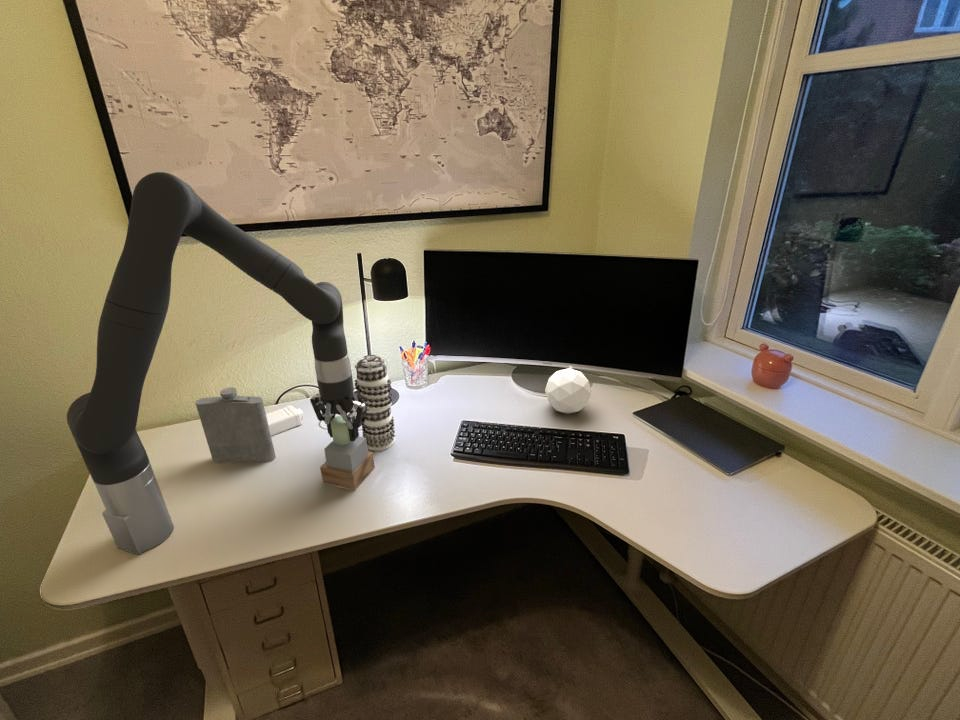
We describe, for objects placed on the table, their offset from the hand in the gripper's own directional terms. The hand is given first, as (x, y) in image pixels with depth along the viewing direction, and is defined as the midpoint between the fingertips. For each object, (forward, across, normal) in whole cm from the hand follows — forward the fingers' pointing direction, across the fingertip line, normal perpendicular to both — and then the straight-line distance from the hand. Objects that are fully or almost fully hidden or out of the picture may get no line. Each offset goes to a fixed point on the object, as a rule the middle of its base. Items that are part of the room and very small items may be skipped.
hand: (343, 437), depth 114 cm
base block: (+12, 0, 0) cm, 12 cm away
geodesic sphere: (+11, -46, -47) cm, 67 cm away
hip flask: (+12, +30, +2) cm, 32 cm away
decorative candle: (+11, 0, -15) cm, 19 cm away
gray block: (+7, 0, 0) cm, 7 cm away
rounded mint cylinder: (0, 0, 0) cm, 0 cm away
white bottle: (+12, +31, -12) cm, 35 cm away
